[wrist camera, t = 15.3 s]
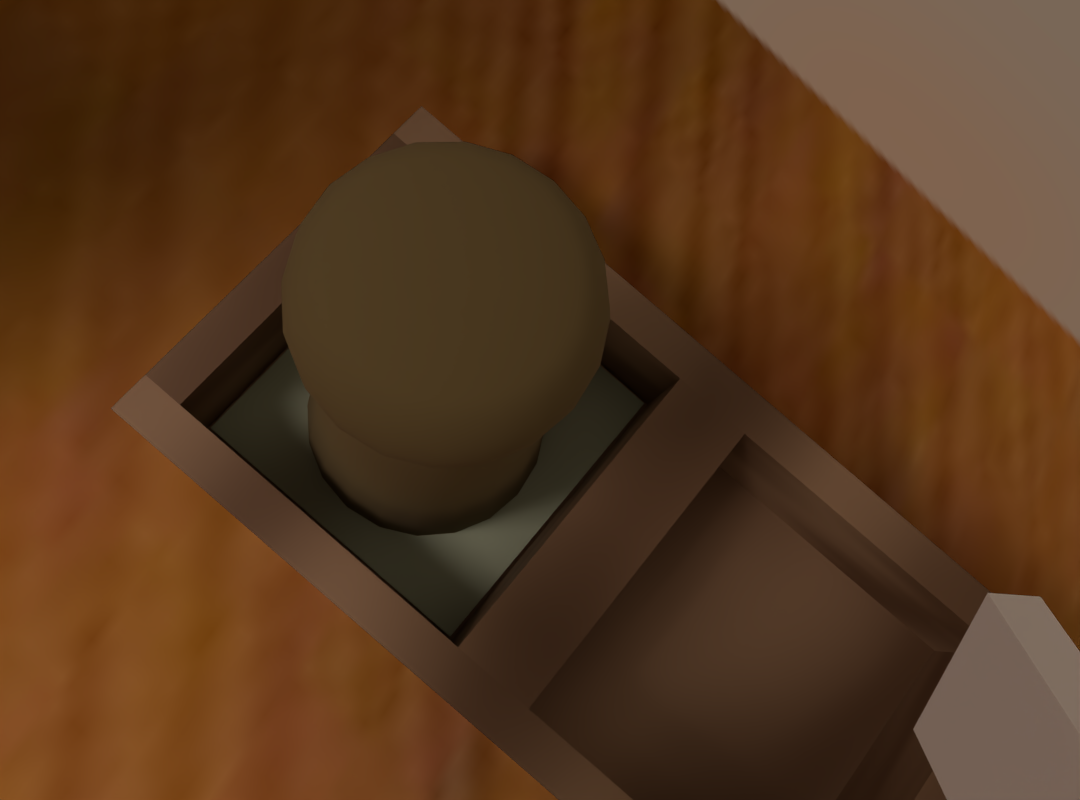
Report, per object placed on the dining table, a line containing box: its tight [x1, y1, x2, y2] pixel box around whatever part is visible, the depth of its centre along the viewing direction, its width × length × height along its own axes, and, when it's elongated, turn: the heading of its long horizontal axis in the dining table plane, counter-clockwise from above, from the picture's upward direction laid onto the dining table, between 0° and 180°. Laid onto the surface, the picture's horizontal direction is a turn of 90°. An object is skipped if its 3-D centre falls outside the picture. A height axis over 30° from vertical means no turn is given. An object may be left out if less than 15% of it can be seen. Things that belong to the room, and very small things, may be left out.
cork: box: [281, 142, 610, 536], centre depth 19 cm, size 6×6×11 cm
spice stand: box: [111, 106, 991, 800], centre depth 24 cm, size 20×10×4 cm, turn 50°
